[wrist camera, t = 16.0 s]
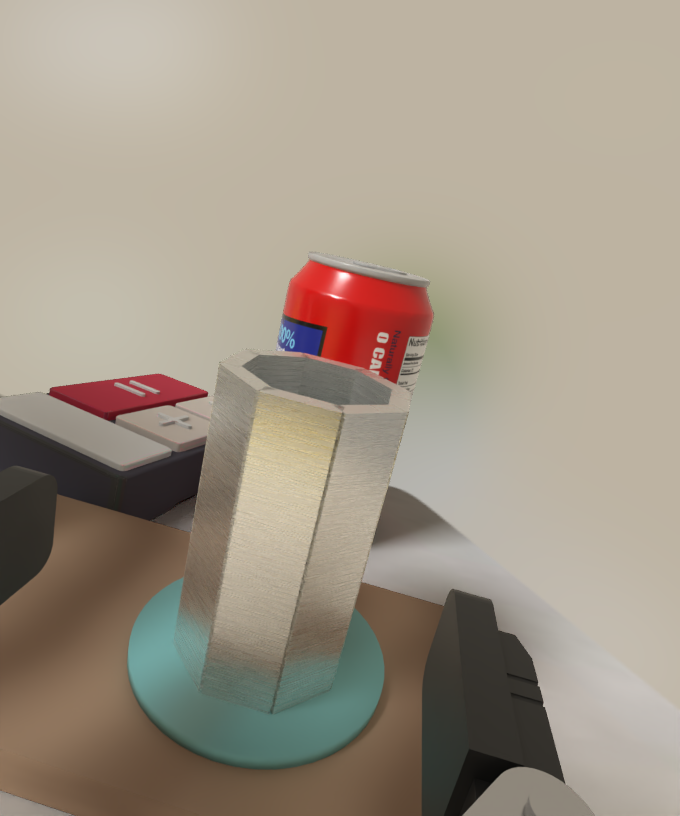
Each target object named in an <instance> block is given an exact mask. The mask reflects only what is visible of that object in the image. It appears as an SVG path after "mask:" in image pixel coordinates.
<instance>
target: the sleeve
mask: <svg viewBox="0 0 680 816" xmlns="http://www.w3.org/2000/svg"><path fill="white" fill-rule="evenodd" d="M410 396H411V392H410V391H408V390H406V389H404V388H402V387H400V386H398V385H396V384H394V383H392V382H391V381H389V380H387V379H385V378H383V377H381V376H379V375H377V374H375V373H373V372H371V371H369V370H368V369H364V368H361V367H357V366H353V365H350V364H346V363H342V362H338V361H334V360H330V359H326V358H322V357H319V356H315V355H311V354H307V353H301V352H288V351H272V350H271V351H270V350H255V349H243V350H241V351H239V352H237V353H235V354H233V355H232V356H230V357H228V358H226V359H224V360H222V361H221V362H219V368H218V375H217V380H216V386H215V392H214V398H213V404H212V410H211V416H210V422H209V428H208V435H207V441H206V447H205V453H204V459H203V465H202V471H201V477H200V483H199V489H198V495H197V501H196V507H195V513H194V519H193V525H192V531H191V537H190V543H189V549H188V555H187V561H186V567H185V573H184V579H183V585H182V591H181V597H180V603H179V609H178V615H177V622H176V628H175V634H174V640H173V645H174V646H175V648H176V650H177V652H178V654H179V656H180V658H181V659H182V661H183V663H184V665H185V667H186V669H187V671H188V673H189V674H190V676H191V678H192V680H193V682H194V684H195V686H196V688H197V689H198V691H199V692H200V691H202V693H201V694H204V695H207V696H210V697H213V698H217V699H220V700H223V701H226V702H229V703H233V704H236V705H239V706H242V707H246V708H249V709H252V710H255V711H259V712H262V713H265V714H268V715H269V714H270V711H271V713H272V714H275V713H278V712H280V711H283V710H285V709H288V708H290V707H292V706H295V705H297V704H300V703H302V702H305V701H307V700H309V699H312V698H314V697H317V696H319V695H322V694H324V693H326V692H329V691H330V689H332V685H333V681H334V678H335V674H336V671H337V667H338V664H339V660H340V656H341V653H342V649H343V646H344V642H345V639H346V635H347V631H348V628H349V624H350V621H351V617H352V614H353V610H354V606H355V603H356V599H357V596H358V592H359V589H360V585H361V581H362V578H363V574H364V571H365V567H366V564H367V560H368V556H369V553H370V549H371V546H372V542H373V539H374V535H375V531H376V528H377V524H378V521H379V517H380V514H381V510H382V506H383V503H384V499H385V496H386V492H387V489H388V485H389V481H390V478H391V474H392V470H393V467H394V463H395V460H396V456H397V453H398V449H399V446H400V442H401V439H402V435H403V431H404V428H405V424H406V420H407V417H408V413H409V407H410V406H409V405H410Z"/></svg>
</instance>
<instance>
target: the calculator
mask: <svg viewBox="0 0 680 816" xmlns="http://www.w3.org/2000/svg"><path fill="white" fill-rule="evenodd" d="M207 396H208V392H207V391H204V390H201V389H199V388H197V387H194V386H191V385H189V384H186V383H183V382H181V381H178V380H175V379H173V378H170V377H167V376H165V375H162V374H152V375H144V376H137V377H128V378H121V379H113V380H105V381H97V382H90V383H82V384H74V385H66V386H59V387H52V388H50V393H47V394H44V393H40V392H36V393H29V394H21V395H13V396H6V397H0V472H1V471H3V470H5V469H7V468H9V467H11V466H20V467H24V468H27V469H31V470H35V471H38V472H42V473H45V474H49V475H52V476H54V477H55V479H56V481H57V494H58V495H62V496H65V497H69V498H72V499H76V500H79V501H83V502H86V503H89V504H93V505H96V506H100V507H103V508H107V509H110V510H114V511H117V512H121V513H124V514H127V515H131V516H134V517H138V518H141V519H145V520H148V521H150V520H152V519H154V518H156V517H158V516H160V515H162V514H163V513H165V512H167V511H169V510H171V509H172V508H173V507H174V505H175V504H176V503H178V502H180V501H182V500H184V499H187V498H189V497H191V496H193V495H195V494H198V489H199V483H200V477H201V471H202V465H203V459H204V453H205V447H206V441H207V435H208V428H209V422H210V416H211V410H212V404H213V398H214V396H209V397H207Z"/></svg>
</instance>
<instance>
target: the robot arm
mask: <svg viewBox="0 0 680 816" xmlns="http://www.w3.org/2000/svg"><path fill="white" fill-rule="evenodd" d="M56 501H57V481H56V479H55V477H54V476H52V475H49V474H45V473H42V472H38V471H35V470H31V469H27V468H24V467H20V466H11V467H9V468H7V469H5V470H3V471H1V472H0V605H2V604H3V603H4V602H5V601H6V600H8V599H9V598H10V597H11V596H12V595H14V594H15V593H16V592H17V591H18V590H20V589H21V588H22V587H23V586H24V585H26V584H27V583H28V582H29V581H30V580H32V579H33V578H34V577H35V576H36V575H37V574H38V573H39V572H40V571H41V570H42V569H43V567H44V566H45V564H46V562H47V560H48V558H49V556H50V554H51V551H52V547H53V538H54V526H55V513H56ZM422 816H595V815H594V814H593V812H592V811H591V810H590V808H589V807H588V806H587V804H586V803H585V802H584V801H583V800H582V799H581V798H580V796H579V795H578V794H576V793H575V792H574V791H573V790H572V789H571V788H570V787H568V786H567V785H566V784H565V781H564V777H563V773H562V770H561V766H560V762H559V758H558V755H557V751H556V747H555V743H554V740H553V736H552V732H551V728H550V725H549V721H548V717H547V713H546V710H545V707H543V698H542V695H541V691H540V687H538V680H537V676H536V672H535V668H534V665H533V661H532V658H531V657H530V655H529V654H528V652H527V651H526V650H525V648H524V647H523V645H522V644H521V643H520V641H519V640H518V639H517V637H516V636H515V635H512V634H509V633H505V632H502V631H498V627H497V622H496V617H495V612H494V607H493V603H492V601H491V600H490V599H487V598H483V597H479V596H476V595H472V594H469V593H465V592H462V591H458V590H455V589H452V590H451V591H450V592H449V594H448V597H447V599H446V602H445V605H444V608H443V611H442V614H441V617H440V620H439V623H438V626H437V629H436V632H435V635H434V638H433V641H432V644H431V647H430V650H429V654H428V657H427V661H426V665H425V670H424V676H423V684H422Z"/></svg>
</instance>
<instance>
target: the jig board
mask: <svg viewBox="0 0 680 816" xmlns="http://www.w3.org/2000/svg"><path fill="white" fill-rule="evenodd" d="M190 537H191V533H190V532H186V531H183V530H179V529H176V528H172V527H169V526H165V525H162V524H159V523H155V522H152V521H148V520H145V519H141V518H138V517H134V516H131V515H127V514H124V513H121V512H117V511H114V510H110V509H107V508H103V507H100V506H96V505H93V504H89V503H86V502H83V501H79V500H76V499H72V498H69V497H65V496H62V495H58V494H57V501H56V513H55V526H54V538H53V547H52V551H51V554H50V556H49V558H48V560H47V562H46V564H45V566H44V567H43V569H42V570H41V571H40V572H39V573H38V574H37V575H36V576H35V577H34V578H33V579H32V580H30V581H29V582H28V583H27V584H26V585H24V586H23V587H22V588H21V589H20V590H18V591H17V592H16V593H15V594H14V595H12V596H11V597H10V598H9V599H8V600H6V601H5V602H4V603H3V604H2V605H0V790H1V791H4V792H7V793H10V794H13V795H16V796H19V797H22V798H25V799H28V800H31V801H34V802H37V803H40V804H43V805H46V806H49V807H52V808H55V809H58V810H61V811H64V812H66V813H69V814H72V815H75V816H422V684H423V676H424V670H425V665H426V661H427V657H428V654H429V650H430V647H431V644H432V641H433V638H434V635H435V632H436V629H437V626H438V623H439V620H440V617H441V614H442V611H443V608H444V606H442V605H438V604H435V603H431V602H428V601H425V600H421V599H418V598H414V597H411V596H407V595H404V594H400V593H397V592H393V591H390V590H387V589H383V588H380V587H376V586H373V585H369V584H366V583H362V582H361V585H360V589H359V592H358V596H357V599H356V603H355V606H354V610H353V614H352V617H351V621H350V624H349V628H348V631H347V635H346V639H345V642H344V646H343V649H342V653H341V656H340V660H339V664H338V667H337V671H336V674H335V678H334V681H333V685H332V689H330V691H329V692H326V693H324V694H322V695H319V696H317V697H314V698H312V699H309V700H307V701H305V702H302V703H300V704H297V705H295V706H292V707H290V708H288V709H285V710H283V711H280V712H278V713H275V714H272V713H271V711H270V714H269V715H268V714H265V713H262V712H259V711H255V710H252V709H249V708H246V707H242V706H239V705H236V704H233V703H229V702H226V701H223V700H220V699H217V698H213V697H210V696H207V695H204V694H201V693H202V691H200V692H199V691H198V689H197V688H196V686H195V684H194V682H193V680H192V678H191V676H190V674H189V673H188V671H187V669H186V667H185V665H184V663H183V661H182V659H181V658H180V656H179V654H178V652H177V650H176V648H175V646H174V645H173V640H174V634H175V628H176V622H177V615H178V609H179V603H180V597H181V591H182V585H183V579H184V573H185V567H186V561H187V555H188V549H189V543H190Z"/></svg>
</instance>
